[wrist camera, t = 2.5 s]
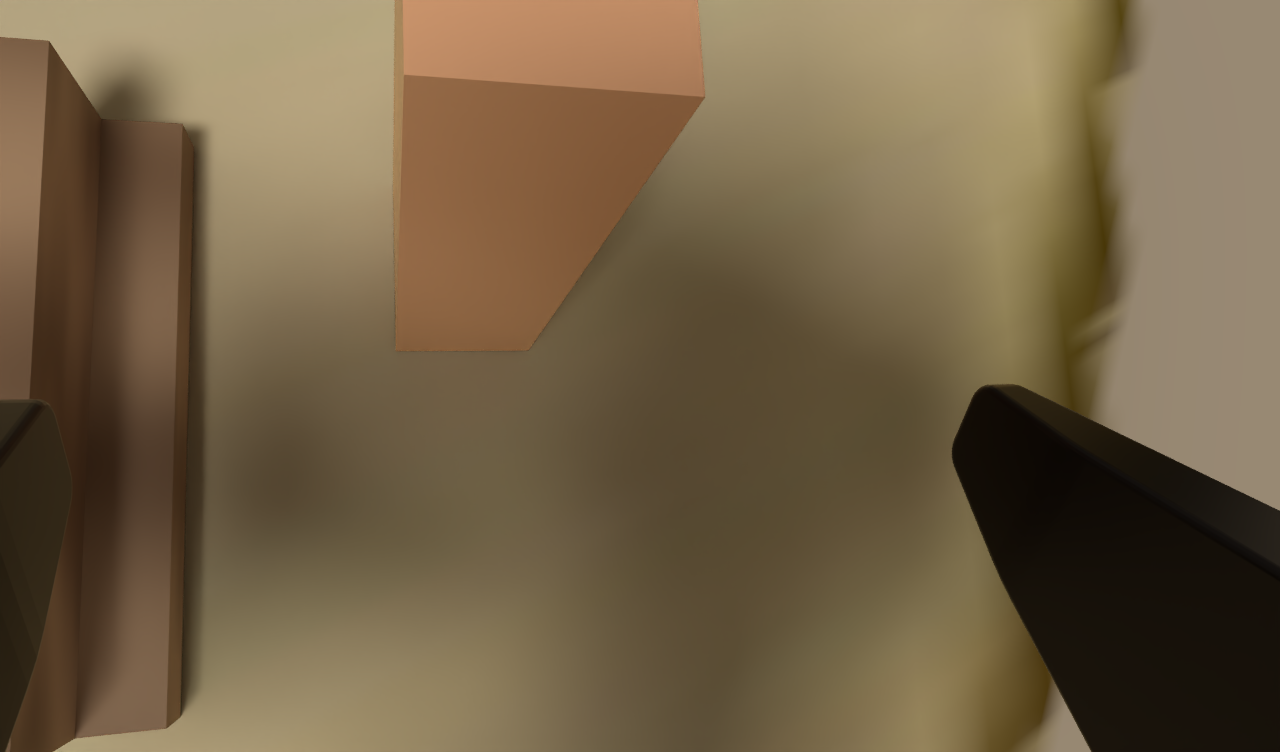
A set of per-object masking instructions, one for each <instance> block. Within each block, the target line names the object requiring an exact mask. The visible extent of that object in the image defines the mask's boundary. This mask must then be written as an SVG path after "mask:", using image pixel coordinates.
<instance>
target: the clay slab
mask: <svg viewBox="0 0 1280 752" xmlns="http://www.w3.org/2000/svg"><path fill="white" fill-rule="evenodd" d="M704 98H705V88H704V75H703V63H702V50H701V38H700V25H699V13H698V0H395V22H394V135H393V210H394V274H395V338H396V351H522V350H529V349H530V348H531V346H532V345H533V343H534V342H535V340H536V339H537V338H538V336H539V335H540V333H541V332H542V330H543V329H544V327H545V326H546V325H547V323H548V322H549V320H550V319H551V317H552V316H553V315H554V313H555V312H556V310H557V309H558V307H559V306H560V305H561V303H562V302H563V300H564V299H565V297H566V296H567V294H568V293H569V292H570V290H571V289H572V287H573V286H574V284H575V283H576V282H577V280H578V279H579V277H580V276H581V274H582V273H583V272H584V270H585V269H586V267H587V266H588V264H589V263H590V261H591V260H592V259H593V257H594V256H595V254H596V253H597V251H598V250H599V249H600V247H601V246H602V244H603V243H604V241H605V240H606V239H607V237H608V236H609V234H610V233H611V231H612V230H613V228H614V227H615V226H616V224H617V223H618V221H619V220H620V218H621V217H622V216H623V214H624V213H625V211H626V210H627V208H628V207H629V206H630V204H631V203H632V201H633V200H634V198H635V197H636V195H637V194H638V193H639V191H640V190H641V188H642V187H643V185H644V184H645V183H646V181H647V180H648V178H649V177H650V175H651V174H652V173H653V171H654V170H655V168H656V167H657V165H658V164H659V162H660V161H661V160H662V158H663V157H664V155H665V154H666V152H667V151H668V150H669V148H670V147H671V145H672V144H673V142H674V141H675V140H676V138H677V137H678V135H679V134H680V132H681V131H682V130H683V128H684V127H685V125H686V124H687V122H688V121H689V119H690V118H691V117H692V115H693V114H694V112H695V111H696V109H697V108H698V107H699V105H700V104H701V102H702V101H703V99H704Z"/></svg>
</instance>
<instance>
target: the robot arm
mask: <svg viewBox="0 0 1280 752" xmlns="http://www.w3.org/2000/svg"><path fill="white" fill-rule="evenodd" d="M952 460H953V464H954V467H955V470H956V472H957V475H958V477H959V480H960V482H961V485H962V487H963V489H964V492H965V494H966V497H967V499H968V502H969V504H970V507H971V509H972V512H973V514H974V516H975V519H976V521H977V524H978V526H979V529H980V531H981V534H982V536H983V539H984V541H985V543H986V546H987V548H988V551H989V553H990V556H991V558H992V561H993V563H994V565H995V568H996V570H997V572H998V574H999V577H1000V579H1001V581H1002V583H1003V585H1004V587H1005V589H1006V591H1007V593H1008V595H1009V597H1010V599H1011V601H1012V603H1013V605H1014V607H1015V609H1016V611H1017V612H1018V614H1019V616H1020V618H1021V620H1022V622H1023V624H1024V626H1025V628H1026V629H1027V631H1028V633H1029V635H1030V637H1031V639H1032V641H1033V643H1034V645H1035V646H1036V648H1037V650H1038V652H1039V654H1040V656H1041V658H1042V660H1043V661H1044V663H1045V665H1046V667H1047V669H1048V671H1049V673H1050V675H1051V677H1052V678H1053V680H1054V682H1055V684H1056V686H1057V688H1058V690H1059V692H1060V694H1061V695H1062V697H1063V699H1064V701H1065V703H1066V705H1067V707H1068V709H1069V711H1070V712H1071V714H1072V716H1073V718H1074V720H1075V722H1076V724H1077V726H1078V728H1079V729H1080V731H1081V733H1082V735H1083V737H1084V739H1085V741H1086V743H1087V744H1088V746H1089V748H1090V750H1091V752H1280V511H1279V510H1277V509H1275V508H1272V507H1271V506H1269V505H1267V504H1264V503H1262V502H1260V501H1258V500H1256V499H1254V498H1252V497H1250V496H1248V495H1246V494H1244V493H1241V492H1240V491H1238V490H1235V489H1233V488H1231V487H1229V486H1227V485H1225V484H1223V483H1221V482H1219V481H1217V480H1215V479H1212V478H1210V477H1209V476H1207V475H1204V474H1202V473H1200V472H1198V471H1196V470H1194V469H1192V468H1190V467H1188V466H1186V465H1184V464H1182V463H1179V462H1177V461H1175V460H1173V459H1171V458H1169V457H1167V456H1165V455H1163V454H1161V453H1159V452H1157V451H1155V450H1153V449H1151V448H1148V447H1146V446H1144V445H1142V444H1140V443H1138V442H1136V441H1134V440H1132V439H1130V438H1128V437H1126V436H1124V435H1121V434H1119V433H1117V432H1115V431H1113V430H1111V429H1109V428H1107V427H1105V426H1103V425H1101V424H1099V423H1097V422H1094V421H1092V420H1090V419H1088V418H1086V417H1084V416H1082V415H1080V414H1078V413H1076V412H1074V411H1072V410H1070V409H1068V408H1065V407H1063V406H1061V405H1059V404H1057V403H1055V402H1053V401H1051V400H1049V399H1047V398H1045V397H1043V396H1041V395H1038V394H1036V393H1034V392H1032V391H1030V390H1028V389H1026V388H1024V387H1022V386H1019V385H1014V384H1002V385H985V386H983V387H980V388H979V389H978V390H977V391H976V392H975V394H974V395H973V397H972V399H971V402H970V404H969V406H968V409H967V411H966V413H965V416H964V418H963V420H962V423H961V425H960V427H959V430H958V432H957V434H956V437H955V439H954V442H953V446H952ZM71 500H72V477H71V472H70V468H69V464H68V460H67V456H66V453H65V449H64V445H63V441H62V438H61V434H60V430H59V427H58V423H57V419H56V416H55V413H54V411H53V409H52V407H51V406H50V404H49V403H47V402H46V401H44V400H42V399H1V400H0V752H6V749H7V747H8V744H9V741H10V738H11V735H12V732H13V730H14V727H15V724H16V721H17V718H18V715H19V713H20V710H21V707H22V704H23V701H24V698H25V696H26V693H27V690H28V687H29V684H30V681H31V678H32V675H33V671H34V668H35V665H36V662H37V659H38V655H39V650H40V646H41V642H42V638H43V634H44V629H45V624H46V619H47V615H48V610H49V605H50V600H51V596H52V591H53V586H54V581H55V577H56V572H57V567H58V562H59V558H60V553H61V548H62V543H63V539H64V534H65V529H66V524H67V520H68V515H69V510H70V505H71Z"/></svg>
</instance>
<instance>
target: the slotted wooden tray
mask: <svg viewBox="0 0 1280 752" xmlns="http://www.w3.org/2000/svg"><path fill="white" fill-rule="evenodd" d="M193 179H194V146H193V144H192V142H191V140H190V138H189V136H188V134H187V132H186V130H185V128H184V126H183V124H177V123H159V122H141V121H123V120H106V119H101V118H100V116H99V115H98V113H97V112H96V110H95V109H94V107H93V106H92V104H91V103H90V101H89V100H88V98H87V97H86V95H85V94H84V92H83V91H82V89H81V88H80V86H79V85H78V83H77V82H76V80H75V79H74V77H73V76H72V74H71V73H70V71H69V70H68V68H67V67H66V65H65V64H64V62H63V61H62V59H61V58H60V57H59V55H58V54H57V52H56V51H55V49H54V48H53V46H52V45H51V43H50V42H49V41H44V40H31V39H18V38H5V37H0V400H1V399H42V400H44V401H46V402H47V403H49V404H50V406H51V407H52V409H53V411H54V413H55V416H56V419H57V423H58V427H59V430H60V434H61V438H62V441H63V445H64V449H65V453H66V456H67V460H68V464H69V468H70V472H71V477H72V500H71V505H70V510H69V515H68V520H67V524H66V529H65V534H64V539H63V543H62V548H61V553H60V558H59V562H58V567H57V572H56V577H55V581H54V586H53V591H52V596H51V600H50V605H49V610H48V615H47V619H46V624H45V629H44V634H43V638H42V642H41V646H40V650H39V655H38V659H37V662H36V665H35V668H34V671H33V675H32V678H31V681H30V684H29V687H28V690H27V693H26V696H25V698H24V701H23V704H22V707H21V710H20V713H19V715H18V718H17V721H16V724H15V727H14V730H13V732H12V735H11V738H10V741H9V744H8V747H7V749H6V752H53V751H55V750H56V749H58V748H60V747H61V746H63V745H65V744H66V743H68V742H70V741H71V740H73V739H75V738H83V737H92V736H101V735H111V734H120V733H129V732H139V731H148V730H157V729H166V728H168V727H169V726H170V725H171V724H172V723H174V722H175V721H176V720H177V719H179V718H180V714H181V673H182V631H183V590H184V549H185V508H186V467H187V426H188V385H189V344H190V302H191V261H192V220H193Z"/></svg>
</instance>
